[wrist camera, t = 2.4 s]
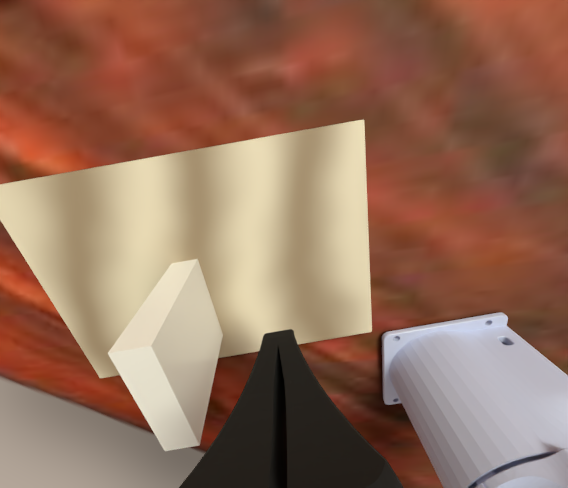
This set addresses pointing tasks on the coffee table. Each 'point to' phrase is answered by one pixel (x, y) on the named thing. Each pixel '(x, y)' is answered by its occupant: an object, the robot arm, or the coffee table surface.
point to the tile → (172, 355)
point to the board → (207, 237)
